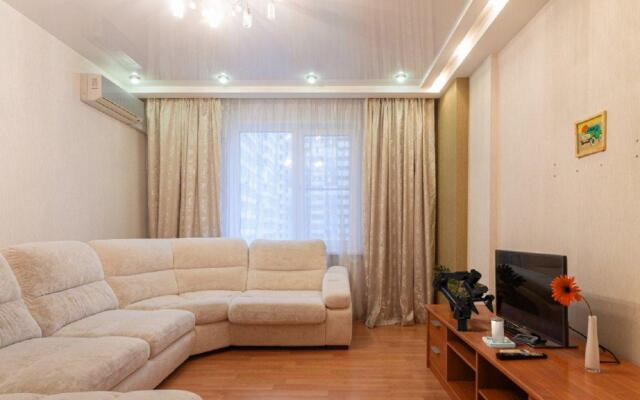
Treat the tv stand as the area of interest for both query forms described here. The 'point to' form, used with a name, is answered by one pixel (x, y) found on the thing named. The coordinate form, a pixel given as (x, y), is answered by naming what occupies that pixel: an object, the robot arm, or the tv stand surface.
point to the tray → (506, 344)
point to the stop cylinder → (497, 330)
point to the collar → (523, 341)
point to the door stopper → (509, 324)
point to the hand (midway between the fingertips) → (485, 313)
